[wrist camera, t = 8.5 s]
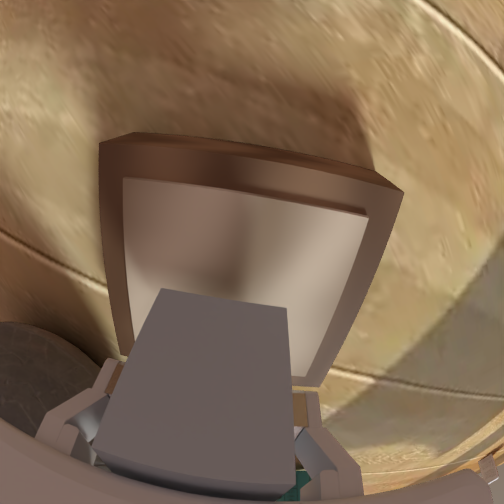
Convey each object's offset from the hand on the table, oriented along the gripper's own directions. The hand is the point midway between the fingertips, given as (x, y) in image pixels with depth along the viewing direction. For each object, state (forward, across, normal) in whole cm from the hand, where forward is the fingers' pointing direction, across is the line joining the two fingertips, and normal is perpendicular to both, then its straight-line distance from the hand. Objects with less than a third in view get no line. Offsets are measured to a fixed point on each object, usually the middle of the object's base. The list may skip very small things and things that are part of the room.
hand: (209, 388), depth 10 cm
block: (+3, 0, 0) cm, 3 cm away
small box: (+10, -90, +63) cm, 110 cm away
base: (+10, 0, 0) cm, 10 cm away
